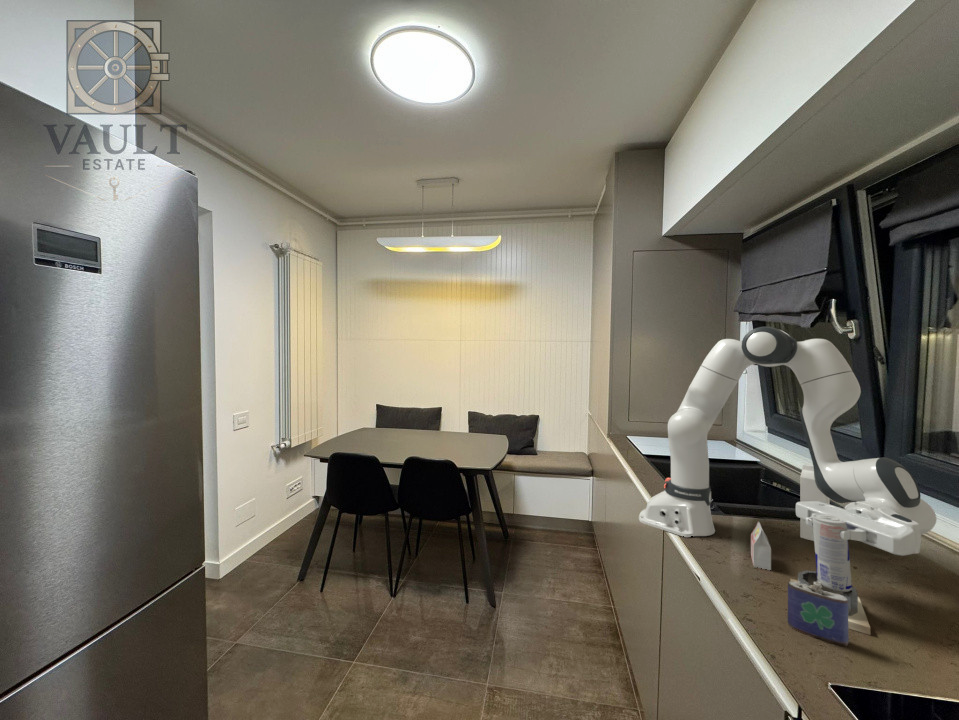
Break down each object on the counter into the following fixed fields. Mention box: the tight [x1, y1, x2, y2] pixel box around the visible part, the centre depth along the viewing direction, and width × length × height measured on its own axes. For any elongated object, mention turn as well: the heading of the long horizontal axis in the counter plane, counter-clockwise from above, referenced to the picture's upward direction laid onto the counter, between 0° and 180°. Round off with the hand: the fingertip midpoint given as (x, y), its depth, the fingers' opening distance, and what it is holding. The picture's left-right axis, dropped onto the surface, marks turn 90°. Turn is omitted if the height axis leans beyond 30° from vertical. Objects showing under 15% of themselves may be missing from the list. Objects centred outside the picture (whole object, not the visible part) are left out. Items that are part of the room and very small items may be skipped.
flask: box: [787, 580, 850, 647], centre depth 76 cm, size 9×3×11 cm, turn 51°
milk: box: [799, 464, 831, 542], centre depth 116 cm, size 6×6×22 cm
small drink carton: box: [750, 521, 772, 571], centre depth 103 cm, size 4×7×10 cm, turn 150°
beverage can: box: [812, 514, 853, 592], centre depth 84 cm, size 6×6×15 cm
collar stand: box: [790, 570, 871, 636], centre depth 84 cm, size 12×12×6 cm
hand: (823, 528), depth 84 cm, fingers closed on beverage can, 5 cm apart
